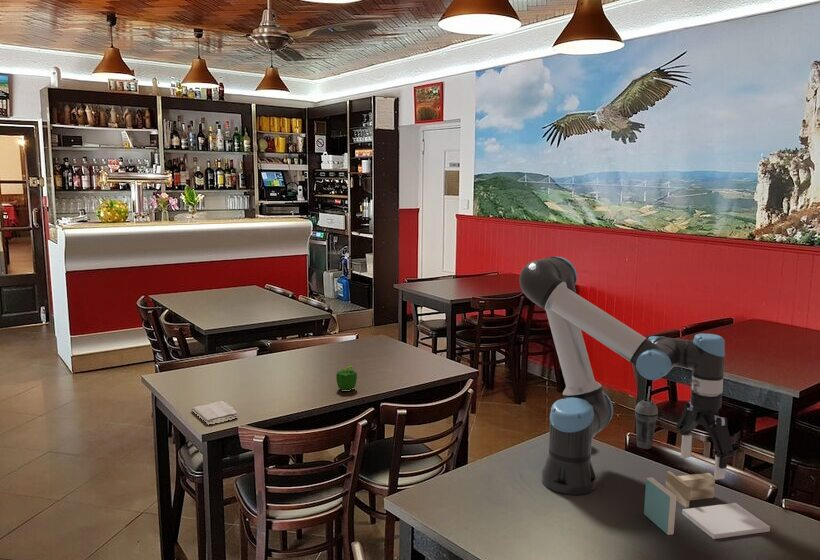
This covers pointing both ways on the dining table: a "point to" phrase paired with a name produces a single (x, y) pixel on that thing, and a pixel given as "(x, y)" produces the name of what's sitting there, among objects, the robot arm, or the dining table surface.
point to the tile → (660, 505)
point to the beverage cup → (645, 422)
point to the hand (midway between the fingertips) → (701, 467)
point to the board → (725, 520)
